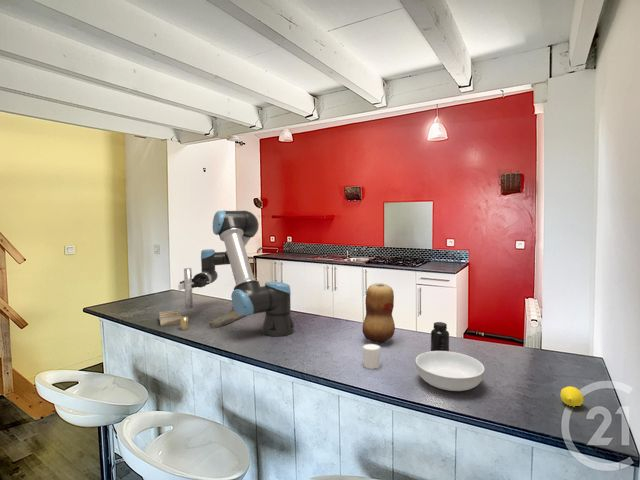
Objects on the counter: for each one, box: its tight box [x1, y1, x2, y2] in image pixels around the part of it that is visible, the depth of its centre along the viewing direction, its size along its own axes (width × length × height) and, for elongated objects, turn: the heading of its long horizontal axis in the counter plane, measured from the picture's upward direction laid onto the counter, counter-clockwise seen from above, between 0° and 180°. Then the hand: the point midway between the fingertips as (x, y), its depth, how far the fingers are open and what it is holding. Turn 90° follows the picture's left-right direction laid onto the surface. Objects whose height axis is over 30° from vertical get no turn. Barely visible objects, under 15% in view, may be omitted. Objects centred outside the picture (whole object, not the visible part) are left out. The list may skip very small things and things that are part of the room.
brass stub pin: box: [180, 315, 189, 332], centre depth 175 cm, size 4×4×6 cm
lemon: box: [559, 385, 585, 408], centre depth 102 cm, size 7×5×5 cm
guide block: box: [158, 309, 183, 327], centre depth 190 cm, size 14×10×4 cm
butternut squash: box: [362, 282, 396, 344], centre depth 155 cm, size 14×13×25 cm
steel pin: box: [183, 267, 194, 310], centre depth 181 cm, size 4×4×20 cm
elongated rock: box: [209, 306, 247, 329], centre depth 194 cm, size 35×5×10 cm
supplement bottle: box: [430, 321, 450, 352], centre depth 141 cm, size 7×7×12 cm
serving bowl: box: [414, 350, 486, 392], centre depth 117 cm, size 21×21×7 cm
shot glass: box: [361, 343, 382, 370], centre depth 131 cm, size 7×7×7 cm
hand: (183, 287), depth 175 cm, fingers closed on steel pin, 3 cm apart
